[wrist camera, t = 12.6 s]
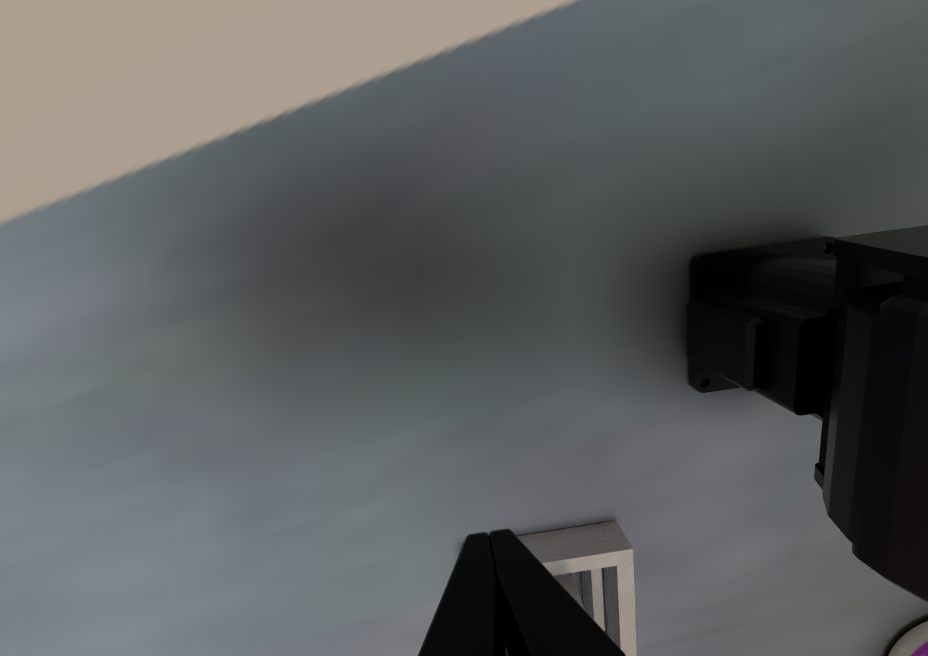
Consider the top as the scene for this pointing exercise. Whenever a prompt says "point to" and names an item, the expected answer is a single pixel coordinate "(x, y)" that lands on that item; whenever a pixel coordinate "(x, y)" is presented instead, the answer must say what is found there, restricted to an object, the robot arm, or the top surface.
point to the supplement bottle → (912, 642)
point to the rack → (595, 573)
